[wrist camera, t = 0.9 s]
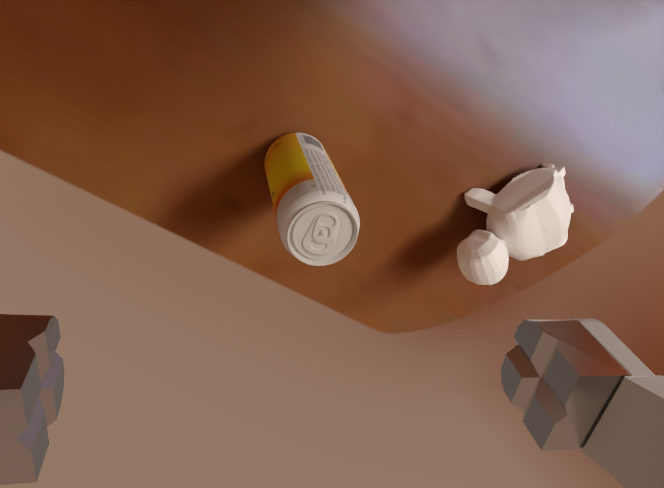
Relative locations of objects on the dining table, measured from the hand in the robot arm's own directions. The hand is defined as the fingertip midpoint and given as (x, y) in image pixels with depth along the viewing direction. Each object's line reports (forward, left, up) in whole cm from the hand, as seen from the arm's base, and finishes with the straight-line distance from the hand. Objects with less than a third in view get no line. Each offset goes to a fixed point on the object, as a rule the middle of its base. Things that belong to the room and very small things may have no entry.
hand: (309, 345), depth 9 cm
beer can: (+8, +11, -41) cm, 43 cm away
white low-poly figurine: (+3, +34, -41) cm, 53 cm away
